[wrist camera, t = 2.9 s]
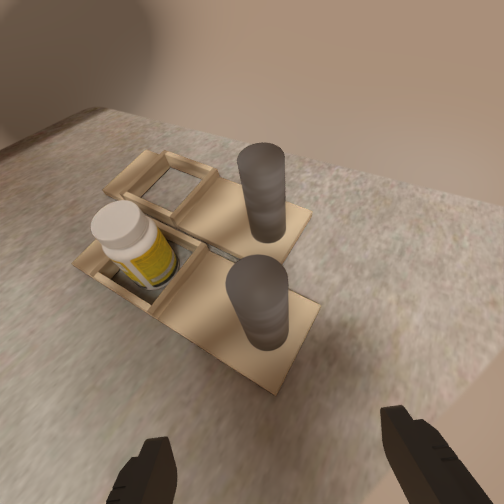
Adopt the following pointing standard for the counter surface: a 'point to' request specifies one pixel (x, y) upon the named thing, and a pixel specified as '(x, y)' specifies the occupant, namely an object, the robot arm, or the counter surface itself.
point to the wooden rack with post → (224, 307)
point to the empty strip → (223, 201)
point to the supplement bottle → (135, 244)
